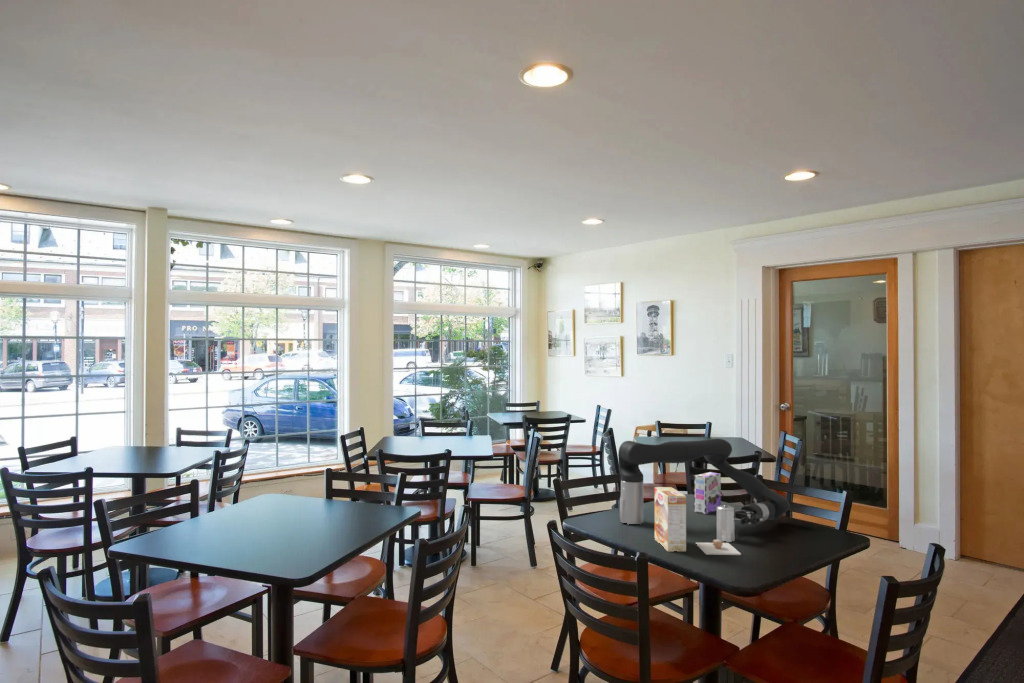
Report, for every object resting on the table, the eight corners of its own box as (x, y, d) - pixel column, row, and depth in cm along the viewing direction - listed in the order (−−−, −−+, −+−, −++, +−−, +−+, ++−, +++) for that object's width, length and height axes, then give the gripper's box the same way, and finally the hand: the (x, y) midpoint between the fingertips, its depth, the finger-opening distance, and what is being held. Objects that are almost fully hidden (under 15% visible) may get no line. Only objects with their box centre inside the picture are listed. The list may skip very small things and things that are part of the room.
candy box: (705, 514, 257) (705, 476, 257) (693, 512, 261) (693, 474, 262) (721, 509, 266) (721, 473, 267) (709, 507, 270) (709, 471, 271)
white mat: (706, 554, 203) (706, 553, 203) (695, 543, 215) (695, 542, 215) (740, 555, 203) (740, 553, 203) (728, 544, 215) (728, 542, 215)
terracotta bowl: (714, 549, 207) (714, 541, 207) (711, 546, 210) (711, 539, 211) (723, 549, 207) (723, 542, 207) (720, 546, 210) (720, 539, 210)
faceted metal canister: (720, 541, 218) (720, 507, 218) (714, 536, 224) (714, 503, 224) (736, 542, 218) (736, 507, 218) (730, 537, 224) (730, 503, 224)
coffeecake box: (653, 539, 220) (653, 486, 221) (672, 538, 221) (672, 486, 221) (667, 552, 205) (667, 495, 206) (686, 551, 206) (686, 495, 206)
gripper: (738, 500, 239) (715, 505, 229) (771, 507, 228) (748, 513, 218) (738, 518, 239) (715, 524, 229) (771, 526, 227) (748, 533, 218)
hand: (731, 519), depth 223 cm, fingers open, 8 cm apart
